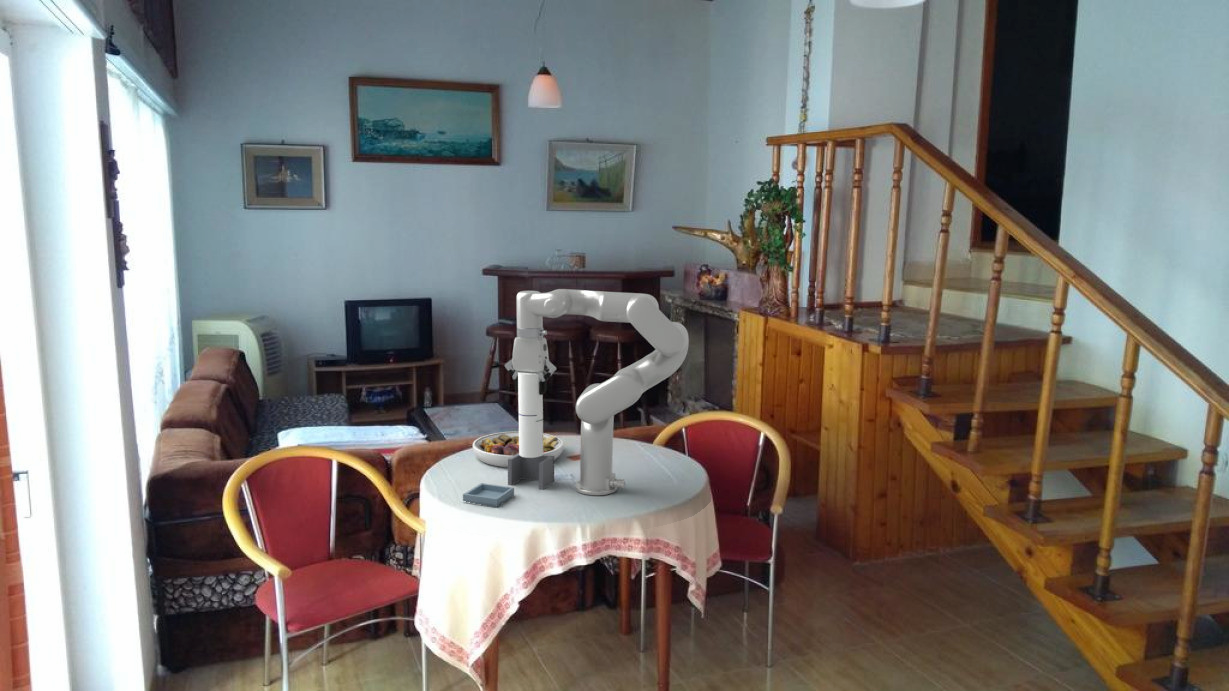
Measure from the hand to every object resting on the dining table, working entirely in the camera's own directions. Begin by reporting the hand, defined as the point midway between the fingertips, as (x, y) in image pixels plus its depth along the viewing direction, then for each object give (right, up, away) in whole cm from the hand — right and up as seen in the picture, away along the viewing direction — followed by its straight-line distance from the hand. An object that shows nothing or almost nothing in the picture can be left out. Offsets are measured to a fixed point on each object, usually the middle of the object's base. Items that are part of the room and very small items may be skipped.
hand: (530, 392), depth 247 cm
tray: (-11, -30, -9) cm, 33 cm away
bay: (0, -28, +6) cm, 28 cm away
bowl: (-7, -24, +33) cm, 41 cm away
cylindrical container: (0, -19, +3) cm, 19 cm away
